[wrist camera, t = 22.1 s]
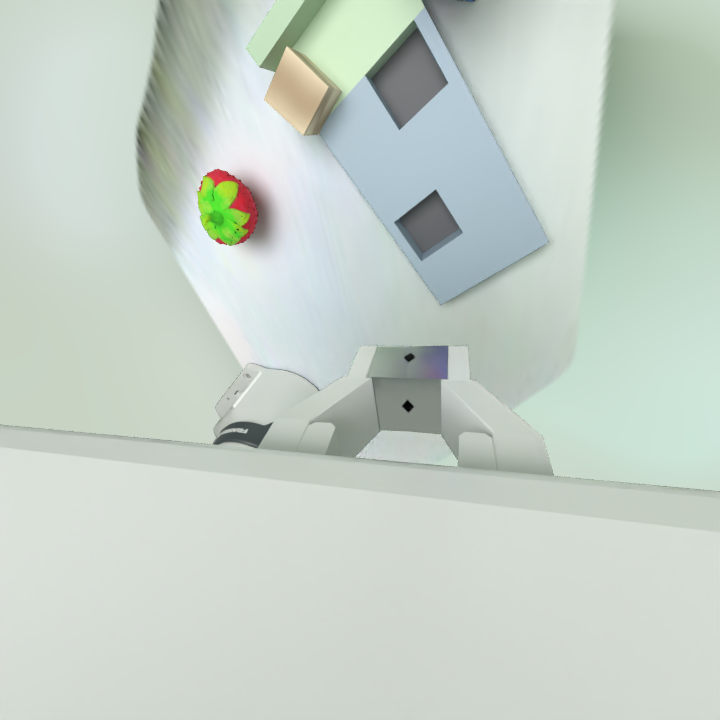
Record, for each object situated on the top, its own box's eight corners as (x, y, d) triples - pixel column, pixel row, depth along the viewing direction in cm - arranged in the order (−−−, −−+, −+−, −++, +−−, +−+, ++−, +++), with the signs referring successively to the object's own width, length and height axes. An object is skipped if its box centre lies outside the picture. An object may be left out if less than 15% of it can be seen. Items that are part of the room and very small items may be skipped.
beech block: (318, 134, 31) (303, 135, 28) (283, 102, 31) (263, 99, 27) (342, 91, 29) (328, 86, 26) (305, 55, 28) (286, 45, 25)
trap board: (441, 294, 41) (439, 317, 36) (277, 60, 31) (245, 48, 27) (542, 234, 34) (556, 251, 30) (375, -80, 25) (357, -128, 20)
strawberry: (271, 168, 37) (221, 180, 29) (274, 236, 41) (230, 263, 33) (223, 160, 37) (161, 169, 29) (230, 228, 42) (178, 252, 34)
